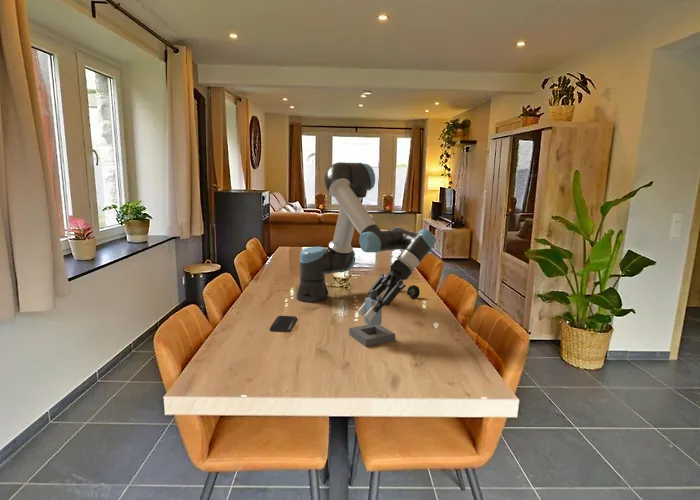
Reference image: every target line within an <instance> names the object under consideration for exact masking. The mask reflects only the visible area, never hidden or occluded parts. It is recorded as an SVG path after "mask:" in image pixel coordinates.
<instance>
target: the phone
mask: <svg viewBox="0 0 700 500" xmlns="http://www.w3.org/2000/svg"><path fill="white" fill-rule="evenodd" d="M297 319H298V317H297V316H295V315H291V316H289V315H278V316H277V317H276V318H275V320H274V321H273V322H272V324H271V325H270V326H269V332H276V333H277V332H280V333H281V332H283V333H289V332H291V330H292V329H293V327H294V325H295V324H296V321H297Z"/></svg>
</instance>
